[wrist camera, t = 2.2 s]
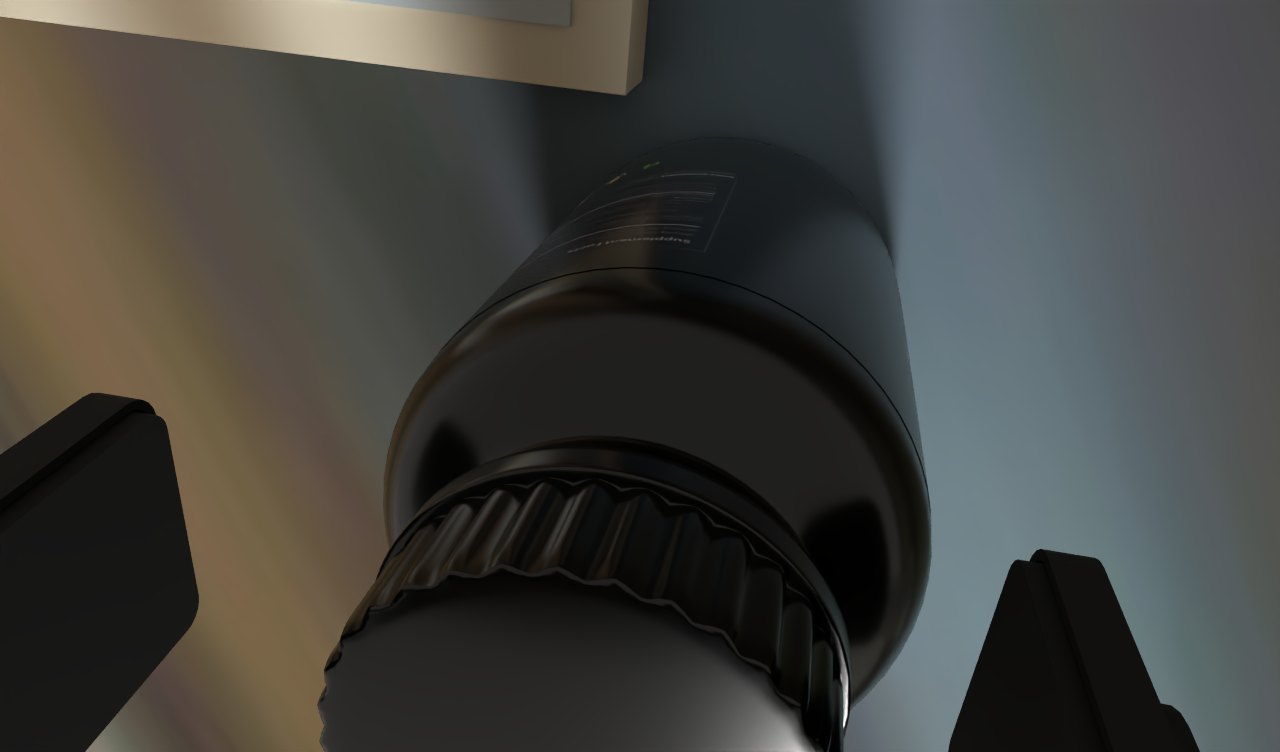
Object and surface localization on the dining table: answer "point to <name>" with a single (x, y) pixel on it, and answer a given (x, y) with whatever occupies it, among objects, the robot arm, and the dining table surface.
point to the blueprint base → (398, 33)
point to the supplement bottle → (653, 483)
